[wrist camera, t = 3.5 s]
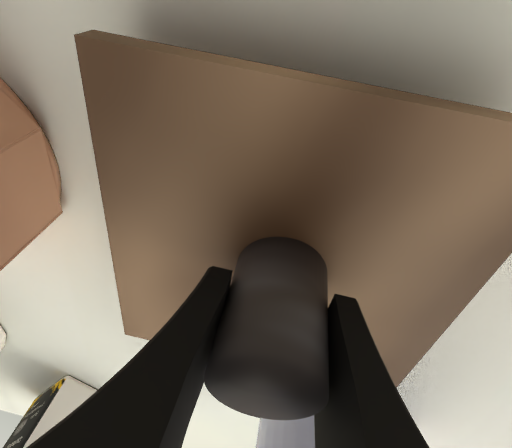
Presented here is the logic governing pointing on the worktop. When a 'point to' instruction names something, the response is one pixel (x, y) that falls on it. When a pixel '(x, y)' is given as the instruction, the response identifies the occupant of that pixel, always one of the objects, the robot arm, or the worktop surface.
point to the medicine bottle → (49, 410)
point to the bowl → (24, 177)
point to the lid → (291, 209)
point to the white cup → (2, 338)
